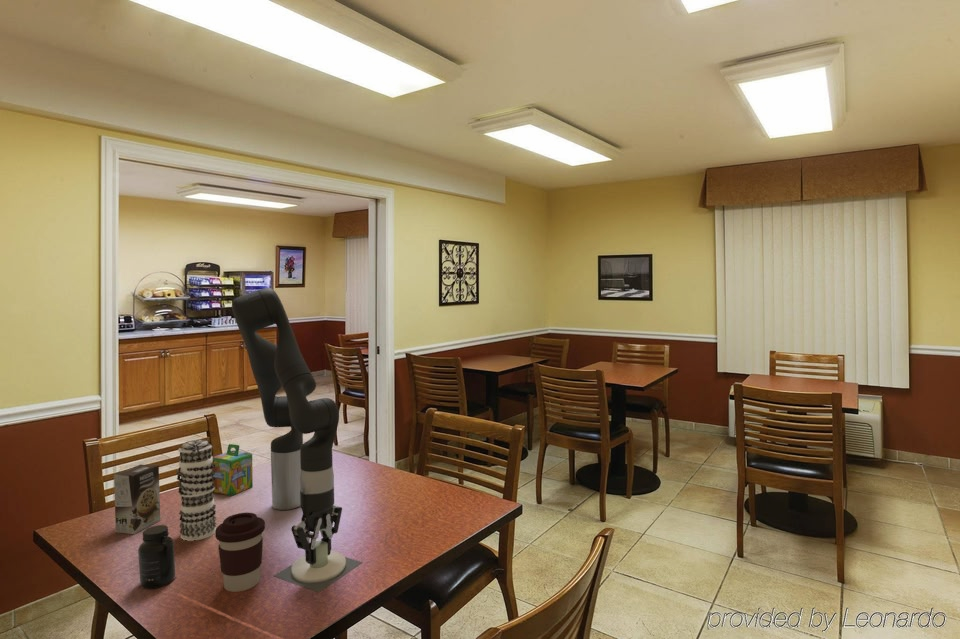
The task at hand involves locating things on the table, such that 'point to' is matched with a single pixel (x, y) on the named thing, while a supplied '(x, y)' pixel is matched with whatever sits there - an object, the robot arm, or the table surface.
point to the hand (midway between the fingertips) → (318, 558)
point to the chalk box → (232, 471)
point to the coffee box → (137, 498)
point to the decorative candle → (196, 490)
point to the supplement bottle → (156, 558)
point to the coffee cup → (240, 550)
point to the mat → (318, 587)
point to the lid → (319, 565)
